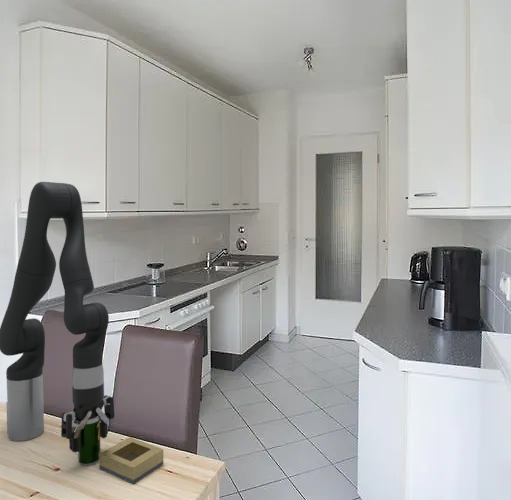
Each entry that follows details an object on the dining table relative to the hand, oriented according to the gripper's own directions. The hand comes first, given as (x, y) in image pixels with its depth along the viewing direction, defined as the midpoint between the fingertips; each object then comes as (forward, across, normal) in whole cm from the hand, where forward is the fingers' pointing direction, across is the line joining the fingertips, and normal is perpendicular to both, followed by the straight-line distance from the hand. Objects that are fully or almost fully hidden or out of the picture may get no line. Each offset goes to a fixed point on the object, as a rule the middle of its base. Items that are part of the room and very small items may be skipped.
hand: (89, 444), depth 113 cm
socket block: (+5, -4, +11) cm, 13 cm away
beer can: (+5, 0, 0) cm, 5 cm away
